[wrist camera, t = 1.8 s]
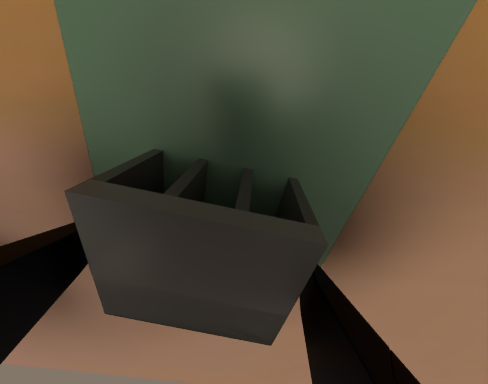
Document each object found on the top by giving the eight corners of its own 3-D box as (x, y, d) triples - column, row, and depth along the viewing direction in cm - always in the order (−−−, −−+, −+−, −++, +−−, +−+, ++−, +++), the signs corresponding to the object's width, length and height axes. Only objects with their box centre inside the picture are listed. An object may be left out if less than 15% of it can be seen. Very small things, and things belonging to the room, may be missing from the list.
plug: (267, 261, 12) (271, 345, 8) (158, 239, 12) (104, 313, 8) (297, 178, 9) (328, 244, 5) (153, 148, 9) (64, 190, 5)
